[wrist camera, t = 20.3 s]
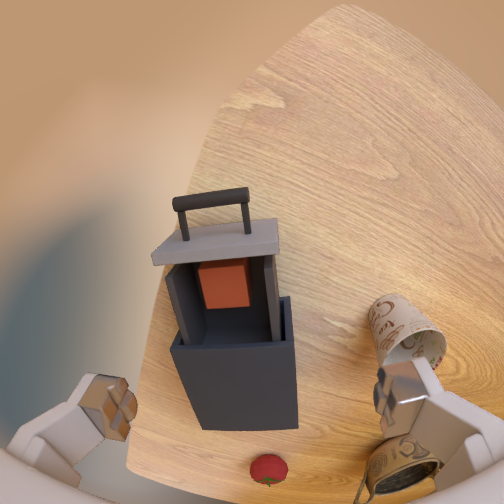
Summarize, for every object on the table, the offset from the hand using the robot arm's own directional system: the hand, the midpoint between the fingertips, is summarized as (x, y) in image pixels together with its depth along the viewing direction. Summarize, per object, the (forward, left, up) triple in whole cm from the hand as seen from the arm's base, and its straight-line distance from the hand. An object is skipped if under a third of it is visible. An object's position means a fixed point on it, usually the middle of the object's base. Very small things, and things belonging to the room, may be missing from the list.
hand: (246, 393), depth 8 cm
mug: (+23, +4, -26) cm, 35 cm away
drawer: (+2, -7, -25) cm, 26 cm away
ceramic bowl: (+56, -11, -26) cm, 63 cm away
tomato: (+39, -33, -26) cm, 57 cm away
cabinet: (+12, -14, -25) cm, 32 cm away
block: (+2, -7, -23) cm, 25 cm away
